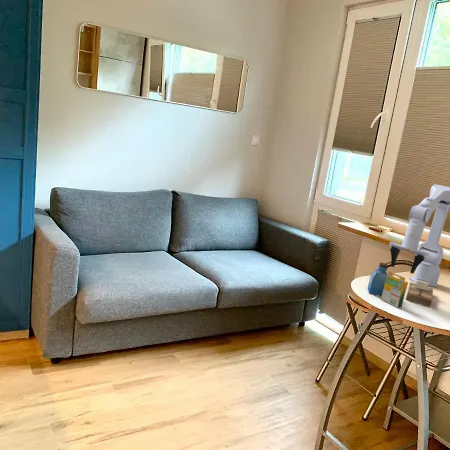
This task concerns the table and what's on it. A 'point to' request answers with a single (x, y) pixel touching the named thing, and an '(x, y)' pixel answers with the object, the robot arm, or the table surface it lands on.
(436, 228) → the robot arm
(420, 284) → the fader knob
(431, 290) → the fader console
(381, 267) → the perfume bottle
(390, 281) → the crayon box
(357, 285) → the table surface
